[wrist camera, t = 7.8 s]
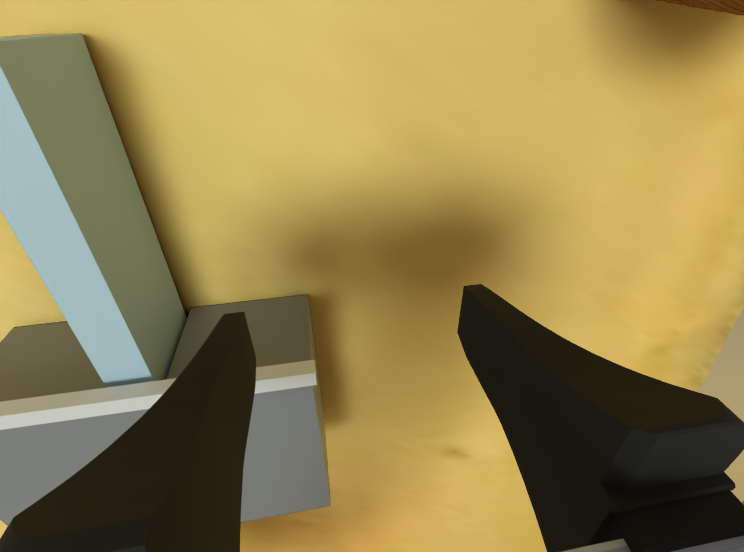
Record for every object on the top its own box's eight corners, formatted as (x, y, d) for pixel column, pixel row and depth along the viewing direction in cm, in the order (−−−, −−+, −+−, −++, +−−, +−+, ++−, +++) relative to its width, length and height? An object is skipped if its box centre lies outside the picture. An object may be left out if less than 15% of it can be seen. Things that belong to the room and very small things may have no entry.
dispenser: (326, 410, 30) (334, 505, 24) (93, 445, 28) (41, 558, 22) (309, 283, 23) (315, 372, 17) (1, 316, 21) (-109, 431, 15)
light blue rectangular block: (186, 318, 23) (160, 394, 18) (150, 322, 22) (114, 400, 18) (81, 33, 15) (-12, 42, 10) (23, 35, 14) (-99, 44, 10)
